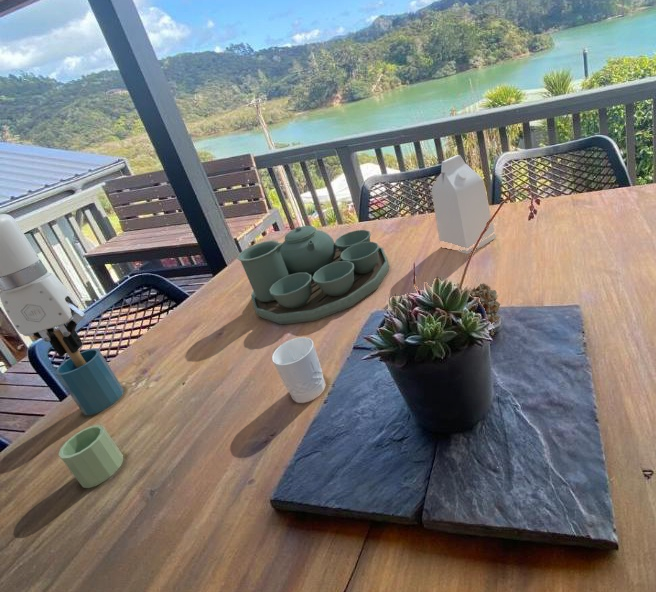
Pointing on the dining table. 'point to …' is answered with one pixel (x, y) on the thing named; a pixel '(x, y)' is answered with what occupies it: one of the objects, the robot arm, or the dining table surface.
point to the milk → (461, 205)
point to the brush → (76, 356)
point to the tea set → (312, 274)
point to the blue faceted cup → (90, 382)
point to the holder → (91, 456)
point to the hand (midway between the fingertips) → (71, 350)
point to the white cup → (299, 369)
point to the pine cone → (487, 301)
